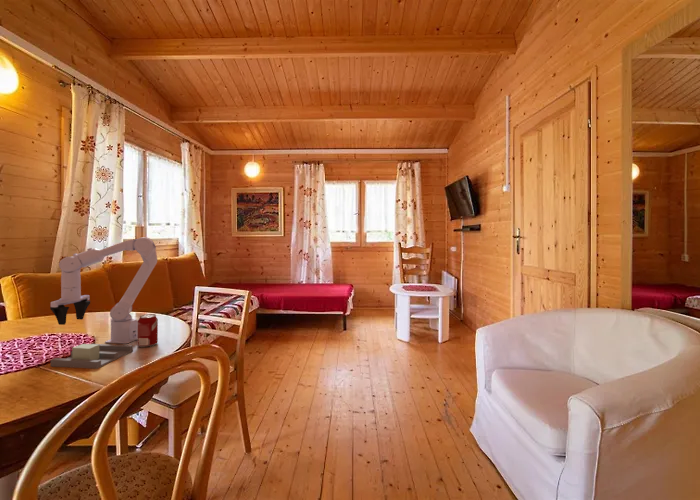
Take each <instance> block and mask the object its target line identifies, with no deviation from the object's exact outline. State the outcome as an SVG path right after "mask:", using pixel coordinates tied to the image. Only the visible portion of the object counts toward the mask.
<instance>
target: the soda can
mask: <svg viewBox="0 0 700 500" xmlns="http://www.w3.org/2000/svg"><path fill="white" fill-rule="evenodd" d="M138 318H139V319H138V320H137V321H138V339H137V346H139V347H140V348H150V346H151V347H154V346H155V345H157V344H158V339H159V338H158V330H159V328H158V323H159V321H158V317H157V314H154V313H146V314H141V315H140V316H139V317H138ZM153 345H154V346H153Z"/></svg>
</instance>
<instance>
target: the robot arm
mask: <svg viewBox="0 0 700 500" xmlns="http://www.w3.org/2000/svg"><path fill="white" fill-rule="evenodd" d="M124 251H131V252H133V251H136V253H138V254H139V255H140V257H141V259H142V261H143V262H142V263H141V266H140V267H139V269H138V270H137V272H136V274H135V275H134V277H133V279H132V280H131V282H130V283H129V285H128V287H127V289H126V291H125V292H124V293H123V296H122V297H121V299H120V300H119V302H117V303H116V304H115V305H114V306H113V307H112V308H111V309H110V311H109V317H111V318H110V339H108V340H106V341H104V344H122V345H125V344H126V345H128V344H129V343H133V342H134V341H136V340H137V341H138V320H137V319H134V318H133V316H132V315H131V312H132V310H133V305H134V303H135V300H136V299H137V297H138V295H139V293H140V292H141V290H142V289H143V288H144V285H145V284H146V282H147V280H148V278H149V277H150V275H151V274H152V272H153V270H154V269H155V267H156V265H157V264H158V256H157V255H158V254H157V246H156V244H155V243H154V241H153V239H151V238H150V237H148V236H147V237H146V236H145V237H138V238H136V239H135V238H134V239H130V240H129V239H128V240H124V241H122V242H118V243H116V244H113V245H110V246H108V247H105V248H102V249H99V248H96V247H94V248H92V247H89V248H87V250H86V251H82V252H79V253H75V252H74V253H73V254H72V256H65V257H64V258H62V259H60V261H59V263H58V267H59V269H60V270H61V275H60V283H61V284H60V287H61V288H60V289H61V290H60V292H61V293H60V297H61V298H59V299H57V300H54V301H51V302H50V306H49V307H50V308H49V309H50V311H51V312H52V313H53V314H54V316H55V318H56V320H57V323H58V325H61V326H62V325H63V326H65V325H66V324H67V315H68V311H69V309H70V307H69V306H66V305H70V304H73V306H74V309H75V317H76V320H81V321H82V320H84V318H85V314H86V311H87V309H88V307H89V306H90V304H91V300H90V295H89V294H84V295H82V291H81V290H82V286H81V284H82V280H81V278H82V277H81V276H82V275H81V269H82V268H86V267H89V266H92V265H95V264H98V263H101V262H103V260H104V259H105V257H107V256H111V255H114V254H117V253H120V252H124Z"/></svg>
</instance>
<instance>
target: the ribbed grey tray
mask: <svg viewBox="0 0 700 500" xmlns="http://www.w3.org/2000/svg"><path fill="white" fill-rule="evenodd" d="M95 344H96V345H99V359H98V360H85V359H72V351H70V356H68V357H66V358H62V357H60V358H59V357H55V358H52V359H50V367H56V368H74V369H75V368H76V369H77V368H78V369H79V368H80V369H100V368H101V367H104V366H106V365H108V364H109V363H111V362H113V361H114V362H115V360H118V359H119V358H122V357H124V356H126V355H128V354H130V353H132V352H134V351H133V347H134V346H133V345H132V344H131V345H129V344H126V345H125V344H110V343H104V344H103V343H95Z"/></svg>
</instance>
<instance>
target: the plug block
mask: <svg viewBox="0 0 700 500" xmlns="http://www.w3.org/2000/svg"><path fill="white" fill-rule="evenodd" d="M96 344H97V343H81V344H79V345H76V346H73V347H72V348H71V350H72V351H71V352H72V359H85V360H98V359H99V345H96Z"/></svg>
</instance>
